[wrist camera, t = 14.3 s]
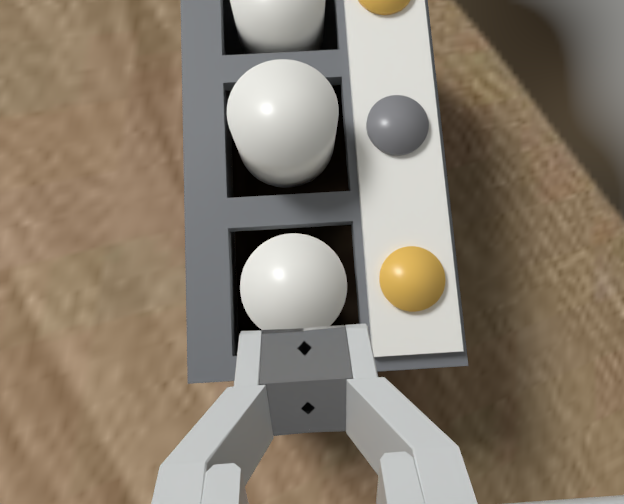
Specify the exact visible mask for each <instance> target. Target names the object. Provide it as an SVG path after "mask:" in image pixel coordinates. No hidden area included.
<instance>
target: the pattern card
mask: <svg viewBox="0 0 624 504" xmlns="http://www.w3.org/2000/svg"><path fill="white" fill-rule="evenodd" d="M344 10H345V22H346V35H347V47H348V60H349V72H350V85H351V97H352V109H353V122H354V134H355V147H356V159H357V172H358V184H359V197H360V209H361V222H362V234H363V247H364V259H365V272H366V284H367V297H368V309H369V322H370V334H371V345H372V350H373V354H374V357H382V356H397V355H413V354H429V353H445V352H460V351H464V350H463V341H462V332H461V323H460V314H459V305H458V296H457V287H456V278H455V269H454V260H453V251H452V242H451V233H450V224H449V215H448V206H447V197H446V188H445V179H444V170H443V161H442V152H441V143H440V134H439V125H438V116H437V107H436V97H435V88H434V79H433V70H432V61H431V52H430V43H429V34H428V25H427V16H426V7H425V0H344Z"/></svg>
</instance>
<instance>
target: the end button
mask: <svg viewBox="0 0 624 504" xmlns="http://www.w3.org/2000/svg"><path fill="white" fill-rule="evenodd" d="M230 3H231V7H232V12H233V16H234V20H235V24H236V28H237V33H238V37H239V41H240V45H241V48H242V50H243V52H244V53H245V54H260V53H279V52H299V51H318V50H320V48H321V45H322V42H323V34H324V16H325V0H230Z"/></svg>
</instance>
